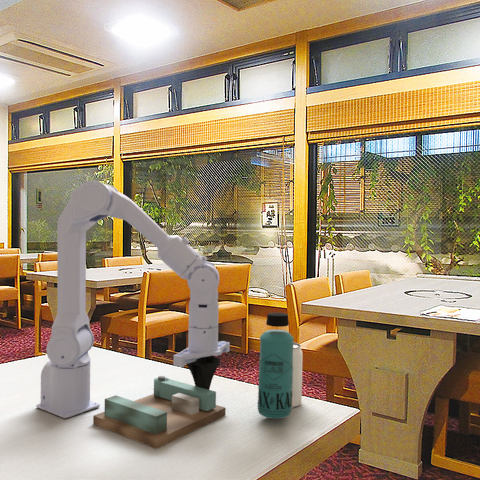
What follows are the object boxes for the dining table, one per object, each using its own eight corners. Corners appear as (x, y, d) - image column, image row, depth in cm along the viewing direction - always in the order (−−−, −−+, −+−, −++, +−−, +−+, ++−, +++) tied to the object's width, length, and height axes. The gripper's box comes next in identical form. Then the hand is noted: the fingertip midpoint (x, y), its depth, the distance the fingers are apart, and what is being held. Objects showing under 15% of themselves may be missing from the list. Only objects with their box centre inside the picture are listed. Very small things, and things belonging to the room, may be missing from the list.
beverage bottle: (255, 413, 96) (257, 310, 95) (289, 413, 96) (291, 310, 96) (259, 427, 89) (261, 316, 88) (295, 426, 90) (298, 316, 89)
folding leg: (150, 394, 100) (150, 377, 100) (161, 390, 102) (161, 373, 102) (206, 411, 91) (206, 392, 91) (216, 407, 94) (216, 388, 94)
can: (300, 410, 98) (301, 349, 97) (267, 407, 99) (268, 347, 99) (302, 399, 104) (304, 342, 104) (272, 396, 105) (273, 340, 105)
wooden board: (93, 423, 89) (93, 399, 89) (164, 397, 104) (164, 375, 104) (156, 448, 80) (157, 421, 80) (225, 415, 94) (225, 391, 94)
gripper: (194, 335, 88) (193, 411, 88) (242, 322, 100) (241, 390, 100) (165, 329, 92) (164, 402, 92) (214, 318, 104) (213, 382, 104)
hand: (202, 395), depth 96 cm, fingers closed
